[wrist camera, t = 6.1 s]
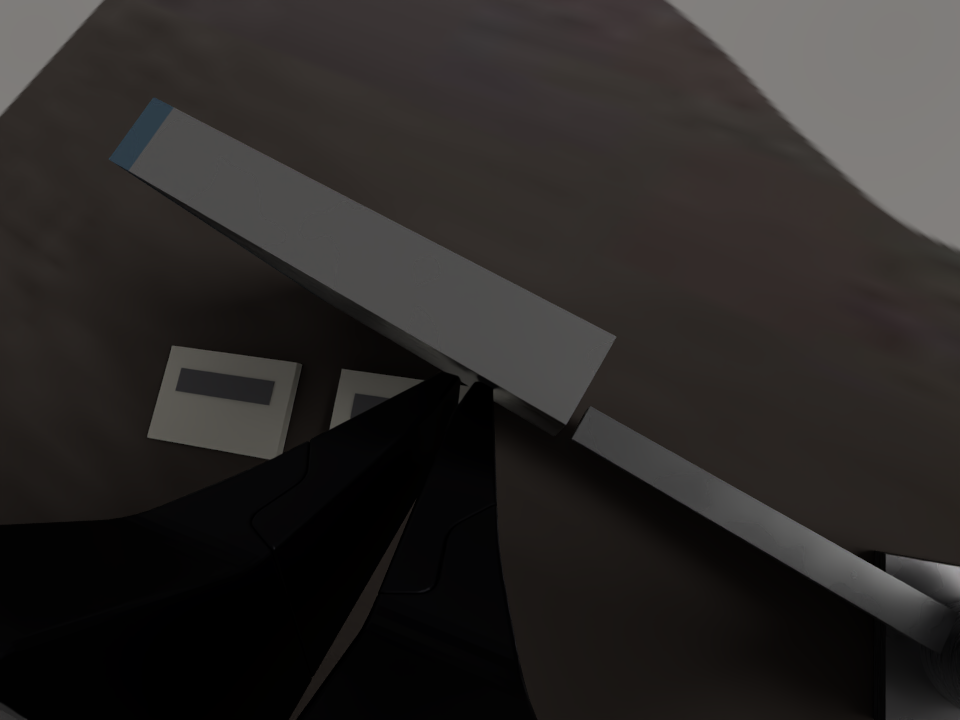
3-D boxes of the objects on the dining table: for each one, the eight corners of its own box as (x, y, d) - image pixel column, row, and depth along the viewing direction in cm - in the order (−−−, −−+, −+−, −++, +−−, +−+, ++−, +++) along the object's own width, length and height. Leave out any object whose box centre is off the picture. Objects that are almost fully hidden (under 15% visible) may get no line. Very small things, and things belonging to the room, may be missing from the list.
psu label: (326, 468, 18) (320, 468, 17) (346, 370, 18) (341, 368, 18) (472, 494, 17) (470, 495, 16) (487, 390, 17) (486, 388, 17)
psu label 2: (155, 437, 19) (145, 437, 19) (179, 347, 20) (170, 345, 19) (280, 460, 18) (274, 460, 18) (302, 364, 19) (296, 362, 18)
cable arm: (913, 588, 14) (1653, 873, 5) (891, 636, 13) (1606, 1028, 4) (346, 268, 18) (153, 96, 9) (325, 301, 18) (108, 159, 9)
